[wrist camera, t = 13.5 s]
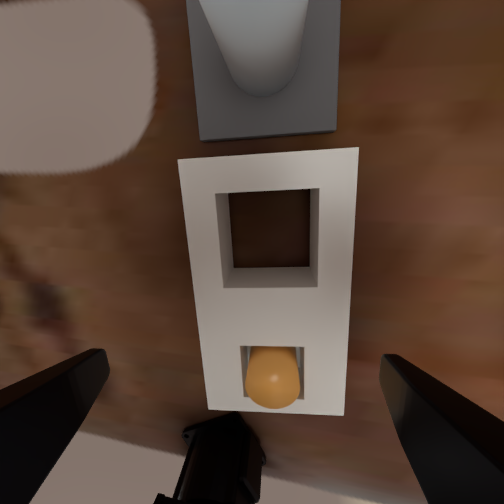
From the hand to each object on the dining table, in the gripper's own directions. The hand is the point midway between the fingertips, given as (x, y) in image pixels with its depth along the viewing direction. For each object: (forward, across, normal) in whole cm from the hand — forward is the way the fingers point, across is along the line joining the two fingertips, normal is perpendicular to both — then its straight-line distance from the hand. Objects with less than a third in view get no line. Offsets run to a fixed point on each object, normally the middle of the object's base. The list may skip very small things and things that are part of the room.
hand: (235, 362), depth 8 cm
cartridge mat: (+12, -1, -13) cm, 18 cm away
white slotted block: (+12, -1, +2) cm, 12 cm away
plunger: (+11, -1, +7) cm, 13 cm away
